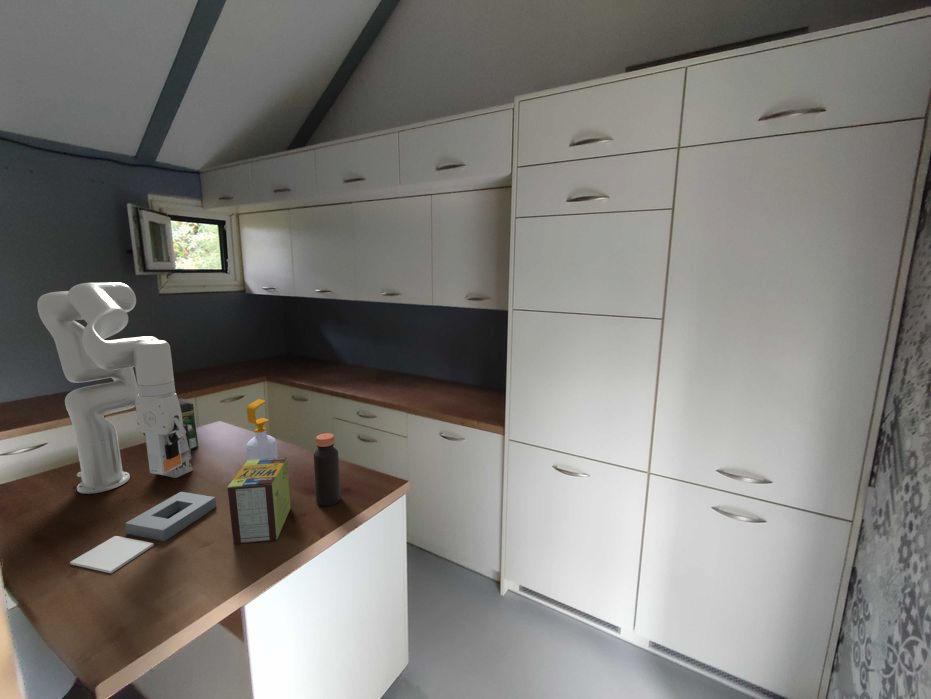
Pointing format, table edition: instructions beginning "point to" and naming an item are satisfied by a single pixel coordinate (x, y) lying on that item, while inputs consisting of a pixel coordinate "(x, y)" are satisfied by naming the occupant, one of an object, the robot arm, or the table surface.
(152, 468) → the skincare box
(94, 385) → the robot arm
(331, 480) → the vinegar
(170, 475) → the coffee box
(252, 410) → the soap bottle
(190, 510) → the slotted board
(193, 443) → the coffee jar
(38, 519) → the table surface
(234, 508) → the protein box
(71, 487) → the table surface
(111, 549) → the white flat plate
